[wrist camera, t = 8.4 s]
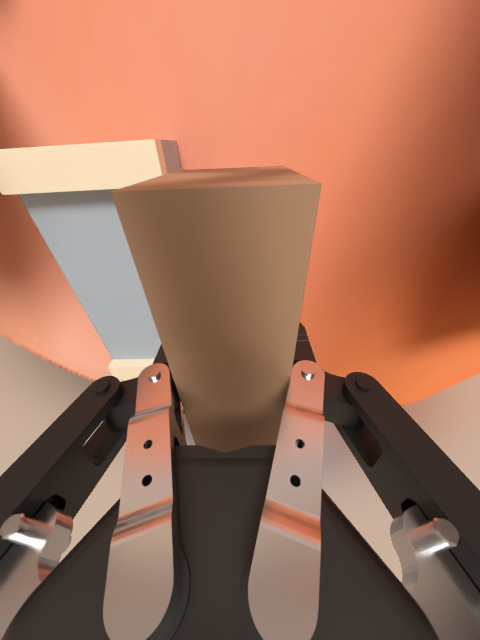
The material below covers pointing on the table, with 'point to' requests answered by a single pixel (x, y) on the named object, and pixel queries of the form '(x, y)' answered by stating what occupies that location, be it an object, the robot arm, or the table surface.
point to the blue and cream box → (94, 232)
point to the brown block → (225, 289)
